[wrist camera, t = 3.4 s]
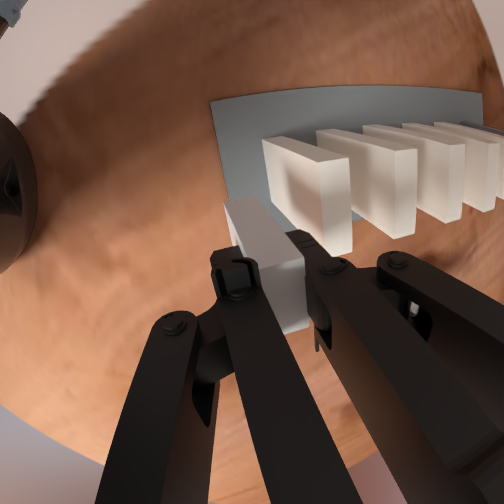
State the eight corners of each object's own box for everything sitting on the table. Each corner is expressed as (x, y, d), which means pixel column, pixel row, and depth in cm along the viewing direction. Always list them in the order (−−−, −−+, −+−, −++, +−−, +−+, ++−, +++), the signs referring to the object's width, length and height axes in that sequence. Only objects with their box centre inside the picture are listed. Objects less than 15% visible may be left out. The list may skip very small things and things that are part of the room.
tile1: (271, 201, 24) (324, 259, 15) (261, 139, 22) (317, 162, 13) (290, 197, 24) (352, 251, 16) (281, 136, 22) (348, 157, 13)
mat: (238, 247, 26) (239, 249, 25) (209, 102, 20) (210, 102, 20) (478, 189, 29) (480, 190, 29) (479, 93, 24) (481, 93, 23)
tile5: (434, 170, 26) (510, 203, 17) (433, 122, 24) (515, 142, 15) (444, 168, 26) (518, 200, 18) (444, 121, 24) (523, 142, 15)
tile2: (321, 190, 25) (393, 239, 16) (315, 130, 22) (394, 150, 14) (338, 186, 25) (414, 233, 16) (333, 128, 22) (417, 148, 14)
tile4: (403, 175, 26) (483, 212, 17) (402, 123, 23) (488, 143, 15) (415, 173, 26) (494, 208, 17) (414, 122, 24) (499, 143, 15)
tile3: (365, 181, 25) (445, 223, 16) (362, 125, 23) (449, 145, 14) (380, 178, 25) (460, 218, 17) (377, 124, 23) (465, 144, 14)
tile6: (459, 166, 27) (530, 196, 18) (460, 121, 24) (535, 142, 16) (467, 165, 27) (537, 193, 18) (468, 121, 25) (541, 142, 16)
